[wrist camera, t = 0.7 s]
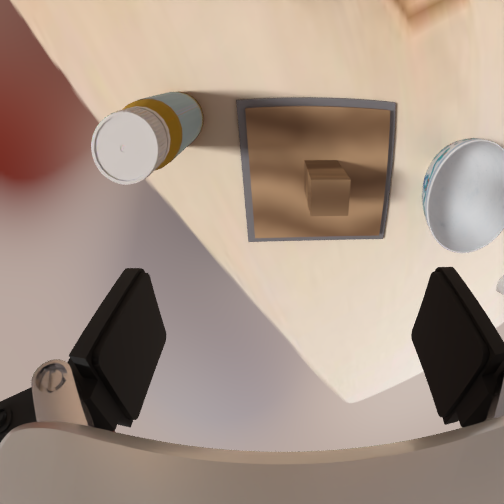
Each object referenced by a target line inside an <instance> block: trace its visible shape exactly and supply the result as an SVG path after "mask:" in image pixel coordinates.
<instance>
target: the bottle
mask: <svg viewBox="0 0 504 504" xmlns="http://www.w3.org/2000/svg"><path fill="white" fill-rule="evenodd" d="M202 126H203V113H202V110H201V107H200V105H199V104H198V102H197V101H196V100H195V99H194V98H193V97H191V96H190V95H188V94H185V93H182V92H169V93H165V94H160V95H156V96H152V97H148V98H144V99H140V100H137V101H135V102H133V103H130V104H128V105H127V106H126V107H125V108H123V109H122V110H120V111H117V112H114V113H111V114H110V115H108V116H107V117H105V118H104V119H103V120H102V121H101V122H100V123H99V124H98V126H97V127H96V129H95V131H94V134H93V137H92V143H91V149H92V156H93V160H94V162H95V164H96V166H97V168H98V169H99V171H100V172H101V173H102V174H103V175H104V176H105V177H107V178H108V179H109V180H111V181H113V182H116V183H119V184H134V183H137V182H139V181H142V180H144V179H145V178H146V177H148V176H149V175H150V174H151V173H152V172H153V171H155V170H158V169H161V168H163V167H164V166H165V165H167V164H168V163H169V162H171V161H172V160H173V159H174V158H175V157H176V156H177V155H178V154H180V153H181V152H182V151H183V150H184V149H185V148H186V147H187V146H188V145H189V144H190V143H191V142H193V141H194V140H195V138H196V137H197V136H198V135H199V133H200V131H201V129H202Z"/></svg>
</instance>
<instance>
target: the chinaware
mask: <svg viewBox="0 0 504 504" xmlns="http://www.w3.org/2000/svg"><path fill="white" fill-rule="evenodd" d="M422 202H423V209H424V214H425V218H426V221H427V224H428V226H429V229H430V231H431V233H432V235H433V236H434V238H435V239H436V241H437V242H438V243H439V244H440V245H441V246H443V247H444V248H446V249H447V250H450V251H452V252H456V253H468V252H473V251H476V250H479V249H481V248H483V247H484V246H486V245H488V244H489V243H490V242H492V241H493V240H494V239H495V238H496V237H497V236H498V235H499V234H500V233H501V232H502V230H503V229H504V149H503V148H502V147H501V146H500V145H498V144H497V143H495V142H492V141H489V140H485V139H478V138H470V139H463V140H459V141H456V142H454V143H452V144H450V145H448V146H446V147H445V148H444V149H442V150H441V151H440V152H439V153H438V154H437V155H436V156H435V158H434V159H433V160H432V162H431V164H430V165H429V167H428V170H427V172H426V175H425V178H424V183H423V190H422Z"/></svg>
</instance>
